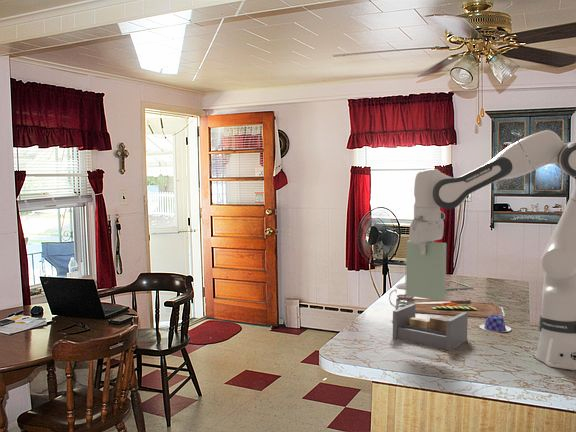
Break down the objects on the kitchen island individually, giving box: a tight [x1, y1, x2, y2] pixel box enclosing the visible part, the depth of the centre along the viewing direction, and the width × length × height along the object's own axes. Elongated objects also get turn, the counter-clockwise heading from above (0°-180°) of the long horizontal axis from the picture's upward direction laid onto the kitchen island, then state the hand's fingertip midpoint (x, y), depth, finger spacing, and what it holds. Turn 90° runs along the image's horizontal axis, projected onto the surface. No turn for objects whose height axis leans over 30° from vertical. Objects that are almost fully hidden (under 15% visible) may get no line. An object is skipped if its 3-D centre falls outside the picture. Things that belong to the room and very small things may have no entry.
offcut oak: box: [410, 317, 430, 329], centre depth 202 cm, size 7×2×6 cm, turn 50°
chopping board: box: [400, 297, 506, 319], centre depth 252 cm, size 45×27×3 cm, turn 73°
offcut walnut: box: [429, 316, 449, 332], centre depth 197 cm, size 7×2×8 cm, turn 50°
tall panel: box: [405, 239, 447, 301], centre depth 195 cm, size 14×2×20 cm, turn 50°
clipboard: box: [446, 280, 474, 291], centre depth 302 cm, size 19×2×30 cm
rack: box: [392, 304, 469, 351], centre depth 200 cm, size 22×15×12 cm
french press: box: [388, 260, 415, 310], centre depth 234 cm, size 10×12×25 cm
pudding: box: [479, 315, 512, 333], centre depth 219 cm, size 12×12×5 cm
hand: (426, 254), depth 195 cm, fingers closed on tall panel, 2 cm apart
